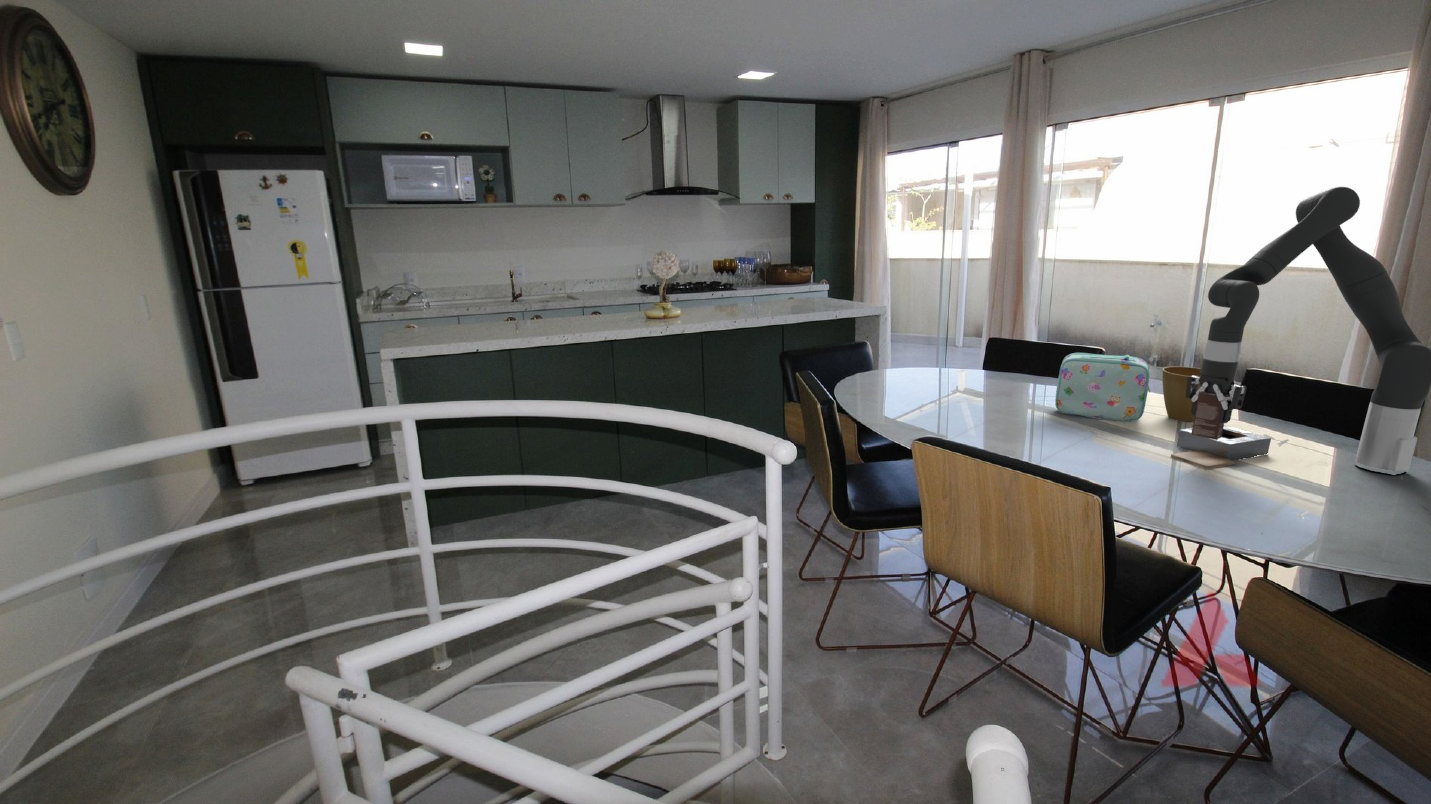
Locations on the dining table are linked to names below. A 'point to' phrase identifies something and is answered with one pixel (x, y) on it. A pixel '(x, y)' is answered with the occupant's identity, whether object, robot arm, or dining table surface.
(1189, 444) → the breaker guard
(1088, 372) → the lunch box
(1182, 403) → the plant pot
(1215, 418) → the box
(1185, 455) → the walnut pad
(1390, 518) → the dining table surface
